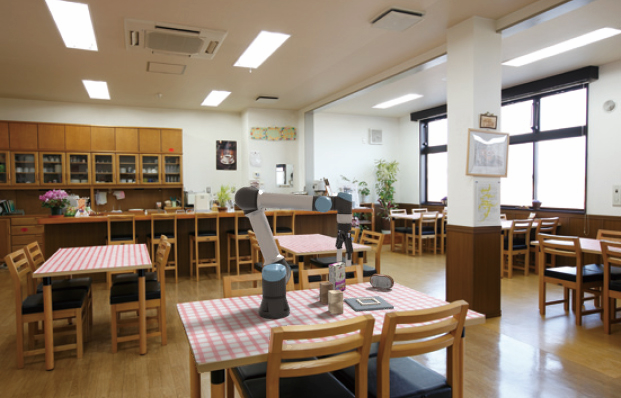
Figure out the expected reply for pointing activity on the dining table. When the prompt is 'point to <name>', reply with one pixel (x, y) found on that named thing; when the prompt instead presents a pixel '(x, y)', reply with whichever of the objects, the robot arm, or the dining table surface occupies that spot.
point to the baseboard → (359, 307)
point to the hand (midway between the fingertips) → (343, 263)
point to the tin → (381, 281)
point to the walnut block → (325, 291)
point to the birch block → (335, 301)
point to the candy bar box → (337, 276)
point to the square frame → (368, 303)
